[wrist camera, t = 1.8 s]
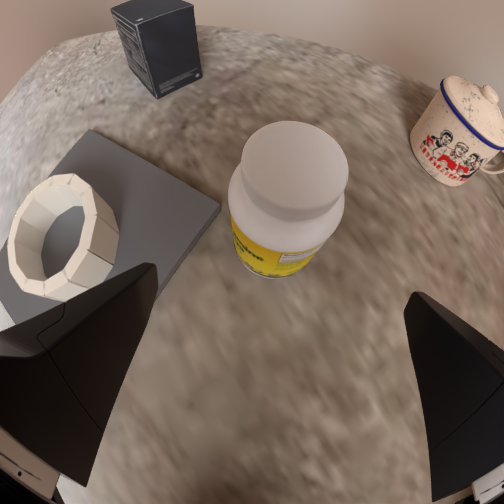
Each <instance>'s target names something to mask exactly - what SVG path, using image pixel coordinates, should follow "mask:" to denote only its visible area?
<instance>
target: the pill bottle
mask: <svg viewBox="0 0 504 504" xmlns="http://www.w3.org/2000/svg"><path fill="white" fill-rule="evenodd" d="M348 174H349V169H348V163H347V159H346V156H345V154H344V152H343V150H342V149H341V147H340V146H339V144H338V143H337V142H336V141H335V140H334V139H333V138H332V137H331V136H330V135H328V134H327V133H326V132H324V131H323V130H321V129H319V128H317V127H315V126H313V125H310V124H307V123H304V122H297V121H280V122H275V123H271V124H268V125H266V126H264V127H262V128H260V129H259V130H257V131H256V132H255V133H254V134H253V135H251V137H250V138H249V139H248V141H247V142H246V144H245V146H244V149H243V152H242V157H241V162H240V164H239V165H238V166H237V168H236V169H235V171H234V173H233V175H232V177H231V180H230V183H229V188H228V205H229V212H230V220H231V225H232V232H233V240H234V246H235V249H236V252H237V255H238V257H239V259H240V260H241V262H242V263H243V264H244V266H245V267H247V268H248V269H249V270H250V271H252V272H253V273H255V274H257V275H259V276H262V277H265V278H270V279H280V278H286V277H289V276H292V275H294V274H296V273H297V272H299V271H300V270H301V269H302V268H304V267H305V266H306V265H307V264H308V262H309V261H310V260H311V259H312V258H313V256H314V255H315V254H316V253H317V252H318V250H319V249H320V248H321V247H322V246H323V244H324V243H325V242H326V241H327V240H328V239H329V237H330V236H331V235H332V234H333V232H334V231H335V230H336V228H337V226H338V225H339V223H340V221H341V218H342V215H343V212H344V204H345V197H344V189H345V187H346V184H347V181H348Z"/></svg>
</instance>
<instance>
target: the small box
mask: <svg viewBox="0 0 504 504" xmlns="http://www.w3.org/2000/svg"><path fill="white" fill-rule="evenodd" d="M111 13H112V15H113V18H114V20H115V23H116V26H117V29H118V33H119V36H120V39H121V42H122V45H123V48H124V51H125V54H126V58H127V61H128V65H129V68H130V69H131V70H132V71H133V72H134V73H135V75H136V76H137V77H138V78H139V79H140V81H141V82H142V83H143V84H144V86H146V88H147V89H148V90H149V91H150V92H151V94H152V95H153V96H154V97H155V98H156V99H158V98H160V97H162V96H164V95H166V94H168V93H170V92H172V91H174V90H176V89H178V88H180V87H182V86H184V85H187V84H189V83H191V82H193V81H196V80H198V79H200V78H202V72H201V65H200V58H199V50H198V43H197V34H196V26H195V18H194V6H193V4H190V3H188V2H185V1H182V0H131V1H128V2H125V3H123V4H120V5H118V6H115V7H113V8H111Z"/></svg>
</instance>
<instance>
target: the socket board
mask: <svg viewBox="0 0 504 504" xmlns="http://www.w3.org/2000/svg"><path fill="white" fill-rule="evenodd" d="M220 210H221V206H220V204H219V203H218V202H216V201H214V200H213V199H211V198H209V197H208V196H206V195H204V194H203V193H201V192H199V191H197V190H196V189H194V188H192V187H191V186H189V185H187V184H186V183H184V182H182V181H180V180H179V179H177V178H175V177H174V176H172V175H170V174H168V173H167V172H165V171H163V170H161V169H160V168H158V167H156V166H154V165H153V164H151V163H149V162H147V161H146V160H144V159H142V158H140V157H139V156H137V155H135V154H133V153H132V152H130V151H128V150H126V149H124V148H123V147H121V146H119V145H117V144H116V143H114V142H112V141H110V140H108V139H106V138H105V137H103V136H101V135H99V134H97V133H96V132H94V131H92V130H90V129H89V130H88V131H87V132H86V133H85V134H84V135H83V136H82V137H81V138H80V140H79V141H78V142H77V143H76V144H75V145H74V146H73V147H72V149H71V150H70V151H69V152H68V153H67V154H66V156H65V157H64V158H63V159H62V160H61V162H60V163H59V164H58V165H57V166H56V168H55V169H54V170H53V171H52V173H51V174H50V175H49V177H48V178H47V179H46V180H45V181H44V182H42V183H41V184H40V185H38V186H37V187H35V188H34V189H33V190H32V193H31V192H30V193H29V194H28V196H27V197H26V199H25V200H24V202H23V203H22V205H21V206H20V208H19V209H18V211H17V212H16V214H15V215H16V216H14V219H13V223H12V227H11V230H10V234H9V237H8V239H7V240H6V242H5V244H4V246H3V248H2V249H1V251H0V301H1V302H2V304H3V306H4V307H5V309H6V310H7V312H8V314H9V315H10V317H11V318H12V320H13V321H14V323H15V324H16V325H17V324H19V323H21V322H23V321H26V320H28V319H30V318H32V317H34V316H37V315H39V314H41V313H43V312H45V311H47V310H49V309H51V308H53V307H55V306H57V305H59V304H61V303H63V302H66V301H67V300H69V299H71V298H73V297H75V296H76V295H78V294H80V293H82V292H84V291H86V290H88V289H90V288H92V287H94V286H96V285H98V284H100V283H102V282H104V281H106V280H108V279H110V278H112V277H114V276H116V275H118V274H121V273H123V272H125V271H127V270H129V269H131V268H133V267H135V266H137V265H139V264H141V263H143V262H148V263H154V264H155V265H156V267H157V274H158V283H159V287H158V292H157V295H156V298H155V300H156V299H157V297H158V296H159V294H160V293H161V291H162V290H163V288H164V287H165V286H166V284H167V283H168V281H169V280H170V278H171V277H172V276H173V274H174V273H175V271H176V270H177V269H178V267H179V266H180V264H181V263H182V262H183V260H184V259H185V257H186V256H187V255H188V253H189V252H190V250H191V249H192V248H193V246H194V245H195V244H196V242H197V241H198V240H199V238H200V237H201V235H202V234H203V233H204V231H205V230H206V229H207V227H208V226H209V225H210V223H211V222H212V221H213V219H214V218H215V217H216V215H217V214H218V213H219V212H220ZM154 302H155V301H154Z"/></svg>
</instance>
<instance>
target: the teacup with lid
mask: <svg viewBox="0 0 504 504" xmlns="http://www.w3.org/2000/svg"><path fill="white" fill-rule="evenodd" d="M498 102H499V97H498V95H497V93H496V92H495V91H494V90H493V89H492V88H491V87H490V86H488V85H484V86H483V87H482V88H481V87H479V86H477V85H475V84H472V83H470V82H468V81H467V80H465V79H463V78H461V77H457V76H448V77H446V78H444V79H443V80H442V81H441V83H440V89H439V90H438V92H437V93H436V95H435V96H434V98H433V99H432V101H431V102H430V104H429V105H428V107H427V108H426V110H425V111H424V113H423V114H422V116H421V117H420V119H419V120H418V122H417V123H416V124H415V126H414V127H413V129H412V131H411V134H410V143H411V147H412V150H413V152H414V154H415V156H416V158H417V160H418V161H419V163H420V164H421V165H422V167H423V168H424V169H425V170H426V171H427V172H428V173H429V174H430V175H431V176H432V177H433V178H435V179H436V180H438V181H439V182H441V183H443V184H445V185H448V186H453V187H455V186H460V185H462V184H463V183H465V182H466V181H467V180H468V179H469V178H470V177H472V176H473V175H474V174H475V173H476V172H477V171H478V170H482V171H483V172H485V173H488V174H499V173H502V172H504V161H503V162H501V163H499V164H495V165H490V164H487V162H489V161H490V160H491V159H492V158H493V157H494V156H495V155H496V154H497V153H498V152H499V151H502V152H503V153H504V118H503V116H502V114H501V111H500V109H499V107H498V105H497V103H498Z"/></svg>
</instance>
